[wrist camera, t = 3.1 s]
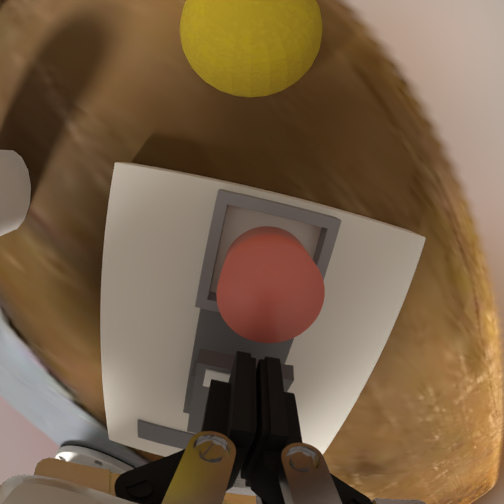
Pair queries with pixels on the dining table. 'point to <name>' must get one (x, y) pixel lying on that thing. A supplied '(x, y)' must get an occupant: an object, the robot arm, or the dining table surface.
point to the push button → (269, 286)
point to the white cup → (13, 191)
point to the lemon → (251, 43)
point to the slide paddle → (240, 487)
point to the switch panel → (206, 309)
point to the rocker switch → (218, 369)
